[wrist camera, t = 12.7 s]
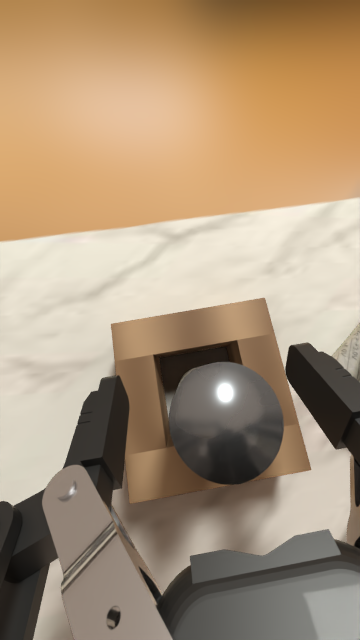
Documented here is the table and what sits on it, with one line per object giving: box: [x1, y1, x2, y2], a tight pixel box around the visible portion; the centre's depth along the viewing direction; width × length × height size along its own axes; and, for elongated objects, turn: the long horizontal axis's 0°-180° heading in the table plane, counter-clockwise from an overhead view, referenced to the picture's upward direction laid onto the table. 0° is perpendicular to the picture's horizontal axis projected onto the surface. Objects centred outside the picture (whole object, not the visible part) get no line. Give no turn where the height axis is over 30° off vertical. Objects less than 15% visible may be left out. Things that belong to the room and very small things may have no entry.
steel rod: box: [169, 362, 284, 485], centre depth 12 cm, size 3×3×12 cm
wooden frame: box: [111, 298, 311, 504], centre depth 16 cm, size 11×11×4 cm
